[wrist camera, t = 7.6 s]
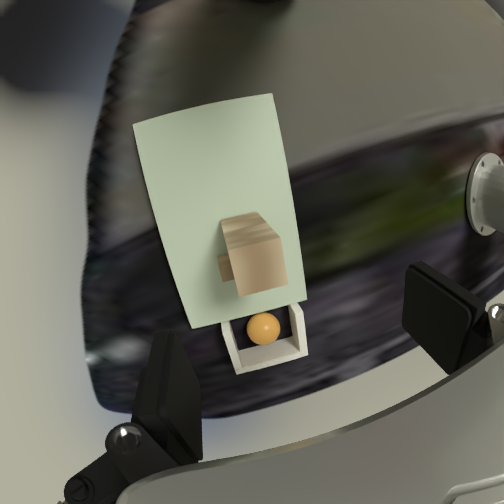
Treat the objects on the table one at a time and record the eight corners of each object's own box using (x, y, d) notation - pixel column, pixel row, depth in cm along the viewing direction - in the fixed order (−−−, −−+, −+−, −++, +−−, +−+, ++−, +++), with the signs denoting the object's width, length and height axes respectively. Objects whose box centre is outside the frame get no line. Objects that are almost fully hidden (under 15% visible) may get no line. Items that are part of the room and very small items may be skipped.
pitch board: (268, 96, 22) (272, 93, 21) (302, 293, 30) (306, 299, 28) (136, 126, 21) (132, 124, 20) (192, 321, 29) (192, 328, 27)
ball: (273, 302, 29) (282, 323, 26) (277, 324, 31) (285, 346, 28) (241, 310, 29) (247, 333, 26) (247, 332, 30) (253, 355, 27)
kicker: (267, 208, 24) (296, 233, 17) (276, 255, 26) (305, 296, 18) (208, 222, 24) (211, 254, 16) (220, 269, 25) (228, 316, 18)
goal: (294, 297, 30) (303, 311, 27) (299, 339, 32) (308, 354, 29) (220, 316, 29) (222, 332, 26) (233, 357, 31) (236, 374, 28)
